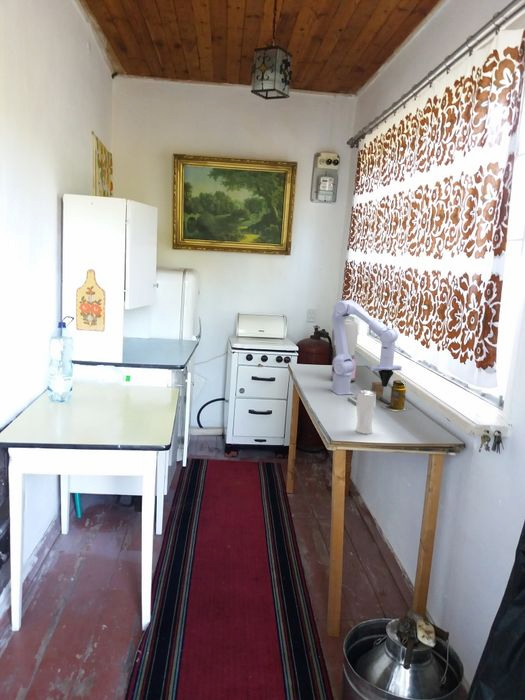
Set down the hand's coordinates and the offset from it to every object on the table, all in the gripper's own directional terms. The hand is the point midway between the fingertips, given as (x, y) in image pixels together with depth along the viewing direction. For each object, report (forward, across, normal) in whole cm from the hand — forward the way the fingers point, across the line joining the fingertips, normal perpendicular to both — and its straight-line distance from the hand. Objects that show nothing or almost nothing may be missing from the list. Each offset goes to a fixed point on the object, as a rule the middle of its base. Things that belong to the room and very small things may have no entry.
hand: (384, 386), depth 236 cm
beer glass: (+8, -27, -36) cm, 45 cm away
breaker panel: (+7, -11, 0) cm, 13 cm away
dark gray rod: (+7, +1, 0) cm, 7 cm away
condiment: (+8, +1, -10) cm, 12 cm away
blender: (+8, -3, +40) cm, 40 cm away
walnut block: (+7, +1, +8) cm, 11 cm away
